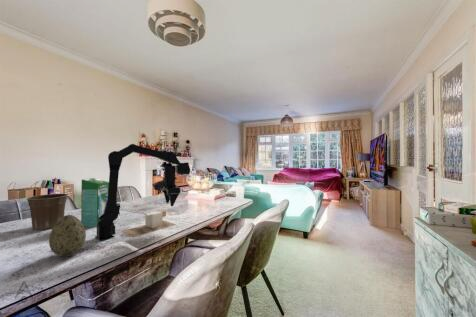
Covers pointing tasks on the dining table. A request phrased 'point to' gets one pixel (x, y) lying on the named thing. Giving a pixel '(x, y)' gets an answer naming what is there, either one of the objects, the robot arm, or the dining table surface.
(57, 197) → the plant pot
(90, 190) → the milk carton
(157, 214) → the white rectangular block
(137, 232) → the walnut stand
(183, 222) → the dining table surface
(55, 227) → the decorative egg
